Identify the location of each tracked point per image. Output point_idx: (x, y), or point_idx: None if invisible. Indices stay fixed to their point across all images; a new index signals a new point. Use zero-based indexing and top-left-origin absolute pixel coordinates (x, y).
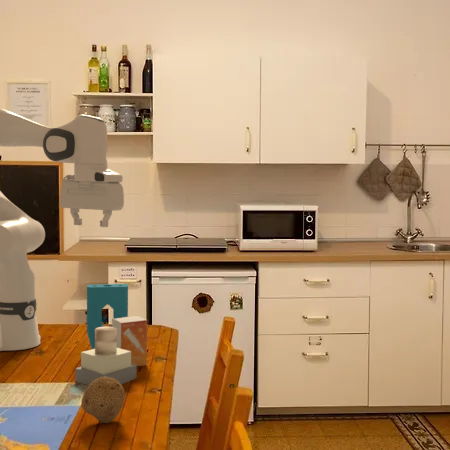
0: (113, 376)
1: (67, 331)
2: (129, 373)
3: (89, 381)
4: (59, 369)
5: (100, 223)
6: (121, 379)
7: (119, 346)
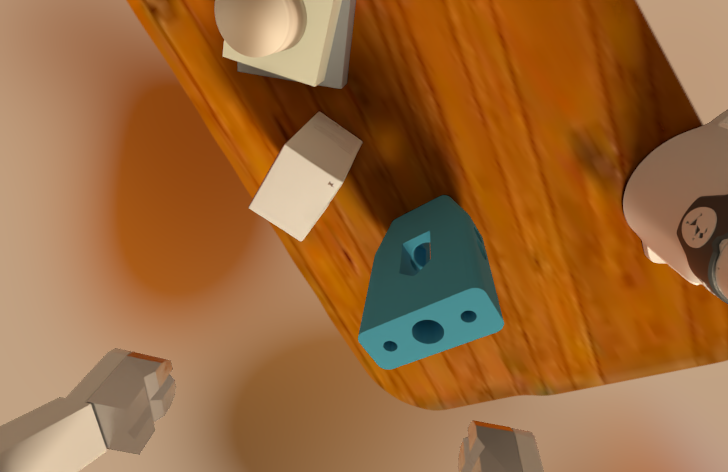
0: None
1: (604, 328)
2: None
3: None
4: (459, 43)
5: (138, 378)
6: None
7: (312, 128)
